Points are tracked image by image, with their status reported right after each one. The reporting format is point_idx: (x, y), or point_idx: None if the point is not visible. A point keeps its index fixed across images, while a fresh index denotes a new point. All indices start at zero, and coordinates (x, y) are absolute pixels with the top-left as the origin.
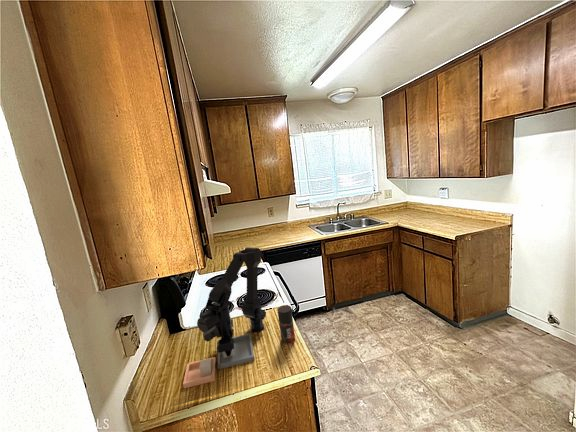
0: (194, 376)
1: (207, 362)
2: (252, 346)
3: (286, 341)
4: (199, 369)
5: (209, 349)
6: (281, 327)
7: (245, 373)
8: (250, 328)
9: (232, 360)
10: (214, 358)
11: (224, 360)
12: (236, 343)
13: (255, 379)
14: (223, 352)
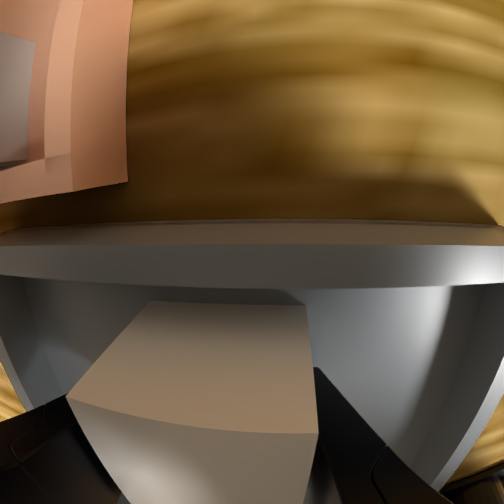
0: (4, 15)
1: None
2: None
3: None
4: (53, 11)
5: (469, 72)
6: None
7: (19, 404)
8: (494, 472)
9: (26, 398)
10: (40, 183)
11: (101, 304)
12: (395, 434)
13: (4, 420)
14: (108, 357)
